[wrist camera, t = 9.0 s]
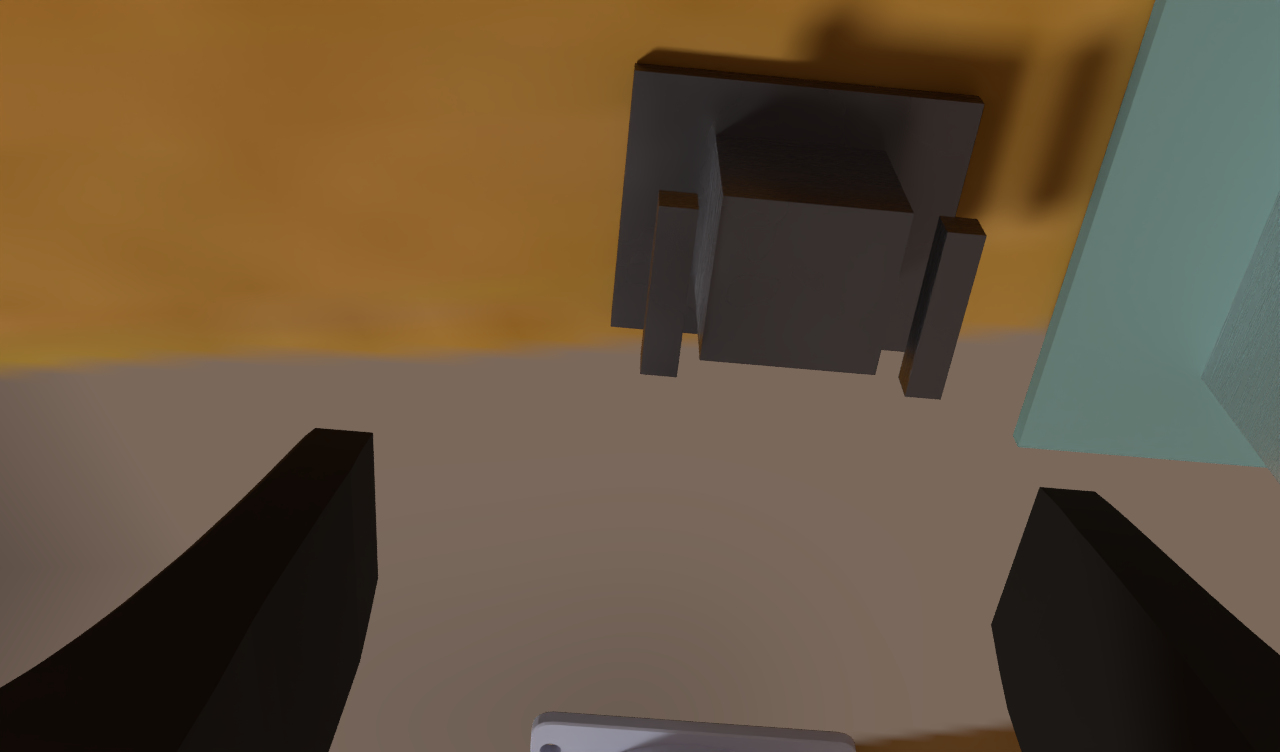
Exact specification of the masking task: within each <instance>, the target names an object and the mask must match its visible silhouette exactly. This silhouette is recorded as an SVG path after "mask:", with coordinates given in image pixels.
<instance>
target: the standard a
mask: <svg viewBox="0 0 1280 752" xmlns="http://www.w3.org/2000/svg"><path fill="white" fill-rule="evenodd" d="M983 108H984V103H983V101H982V100H981V98H980V97H979V96H970V95H960V94H950V93H939V92H929V91H919V90H908V89H898V88H887V87H877V86H867V85H856V84H846V83H836V82H825V81H815V80H804V79H794V78H784V77H773V76H763V75H753V74H742V73H732V72H721V71H711V70H701V69H690V68H680V67H670V66H659V65H649V64H638V63H635V69H634V80H633V90H632V101H631V112H630V122H629V133H628V144H627V154H626V165H625V176H624V186H623V197H622V208H621V218H620V229H619V240H618V251H617V261H616V272H615V283H614V293H613V304H612V315H611V327H623V328H635V329H643V337H642V346H641V359H640V360H641V361H640V374H645V375H658V376H669V377H677V370H678V363H679V356H680V348H681V341H682V333H692V334H698V344H699V359H700V360H705V361H717V362H729V363H741V364H752V365H765V366H775V367H788V368H799V369H810V370H822V371H834V372H846V373H857V374H870V375H875V373H876V369H877V365H878V361H879V357H880V353H881V350H889V351H901V352H905V353H904V357H903V361H902V365H901V369H900V373H899V380H900V383H901V386H902V389H903V392H904V395H905V396H906V397H917V398H929V399H941V396H942V392H943V389H944V385H945V382H946V378H947V375H948V371H949V368H950V364H951V361H952V357H953V353H954V350H955V346H956V343H957V339H958V336H959V332H960V329H961V325H962V321H963V318H964V314H965V311H966V307H967V304H968V300H969V296H970V293H971V289H972V286H973V282H974V279H975V275H976V272H977V268H978V264H979V261H980V257H981V254H982V250H983V247H984V243H985V240H986V234H985V232H984V230H983V229H982V227H981V225H980V223H979V221H978V220H977V219H970V218H960V217H955V215H956V211H957V207H958V203H959V200H960V196H961V192H962V188H963V184H964V181H965V177H966V173H967V169H968V165H969V161H970V158H971V154H972V150H973V146H974V142H975V139H976V135H977V131H978V127H979V123H980V120H981V116H982V112H983Z"/></svg>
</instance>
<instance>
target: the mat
mask: <svg viewBox="0 0 1280 752" xmlns="http://www.w3.org/2000/svg"><path fill="white" fill-rule="evenodd" d="M1279 191H1280V0H1156V1H1155V4H1154V7H1153V10H1152V13H1151V16H1150V19H1149V22H1148V25H1147V28H1146V31H1145V34H1144V37H1143V40H1142V43H1141V46H1140V49H1139V52H1138V55H1137V59H1136V62H1135V65H1134V68H1133V71H1132V74H1131V77H1130V80H1129V83H1128V86H1127V89H1126V92H1125V95H1124V98H1123V101H1122V104H1121V107H1120V110H1119V113H1118V117H1117V120H1116V123H1115V126H1114V129H1113V132H1112V135H1111V138H1110V141H1109V144H1108V147H1107V150H1106V153H1105V156H1104V159H1103V162H1102V165H1101V168H1100V171H1099V174H1098V178H1097V181H1096V184H1095V187H1094V190H1093V193H1092V196H1091V199H1090V202H1089V205H1088V208H1087V211H1086V214H1085V217H1084V220H1083V223H1082V226H1081V229H1080V232H1079V236H1078V239H1077V242H1076V245H1075V248H1074V251H1073V254H1072V257H1071V260H1070V263H1069V266H1068V269H1067V272H1066V275H1065V278H1064V281H1063V284H1062V287H1061V290H1060V294H1059V297H1058V300H1057V303H1056V306H1055V309H1054V312H1053V315H1052V318H1051V321H1050V324H1049V327H1048V330H1047V333H1046V336H1045V339H1044V342H1043V345H1042V348H1041V352H1040V355H1039V358H1038V361H1037V364H1036V367H1035V370H1034V373H1033V376H1032V379H1031V382H1030V385H1029V388H1028V391H1027V394H1026V397H1025V400H1024V403H1023V406H1022V409H1021V413H1020V416H1019V419H1018V422H1017V425H1016V428H1015V431H1014V434H1013V437H1014V439H1015V441H1016V443H1017V446H1018V447H1025V448H1037V449H1049V450H1061V451H1073V452H1086V453H1098V454H1109V455H1121V456H1133V457H1146V458H1157V459H1169V460H1181V461H1194V462H1206V463H1218V464H1230V465H1242V466H1254V467H1266V468H1267V466H1266V465H1265V464H1264V462H1263V461H1262V460H1261V458H1260V457H1259V456H1258V454H1257V453H1256V451H1255V450H1254V449H1253V447H1252V446H1251V445H1250V443H1249V442H1248V441H1247V439H1246V438H1245V437H1244V435H1243V434H1242V433H1241V431H1240V430H1239V429H1238V427H1237V426H1236V425H1235V423H1234V422H1233V421H1232V419H1231V418H1230V416H1229V415H1228V414H1227V412H1226V411H1225V410H1224V408H1223V407H1222V406H1221V404H1220V403H1219V402H1218V400H1217V399H1216V398H1215V396H1214V395H1213V394H1212V392H1211V391H1210V390H1209V388H1208V387H1207V386H1206V384H1205V383H1204V382H1203V380H1202V379H1201V376H1202V374H1203V371H1204V369H1205V367H1206V364H1207V362H1208V360H1209V357H1210V355H1211V352H1212V350H1213V348H1214V345H1215V343H1216V341H1217V338H1218V336H1219V333H1220V331H1221V329H1222V326H1223V324H1224V321H1225V319H1226V317H1227V314H1228V312H1229V310H1230V307H1231V305H1232V302H1233V300H1234V298H1235V295H1236V293H1237V291H1238V288H1239V286H1240V283H1241V281H1242V279H1243V276H1244V274H1245V272H1246V269H1247V267H1248V264H1249V262H1250V260H1251V257H1252V255H1253V252H1254V250H1255V248H1256V245H1257V243H1258V241H1259V238H1260V236H1261V233H1262V231H1263V229H1264V226H1265V224H1266V222H1267V219H1268V217H1269V214H1270V212H1271V210H1272V207H1273V205H1274V203H1275V200H1276V198H1277V195H1278V193H1279Z"/></svg>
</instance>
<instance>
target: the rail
mask: <svg viewBox="0 0 1280 752" xmlns="http://www.w3.org/2000/svg"><path fill="white" fill-rule="evenodd" d="M1201 379H1202V380H1203V382H1204V383H1205V384H1206V386H1207V387H1208V388H1209V390H1210V391H1211V392H1212V394H1213V395H1214V396H1215V398H1216V399H1217V400H1218V402H1219V403H1220V404H1221V406H1222V407H1223V408H1224V410H1225V411H1226V412H1227V414H1228V415H1229V416H1230V418H1231V419H1232V421H1233V422H1234V423H1235V425H1236V426H1237V427H1238V429H1239V430H1240V431H1241V433H1242V434H1243V435H1244V437H1245V438H1246V439H1247V441H1248V442H1249V443H1250V445H1251V446H1252V447H1253V449H1254V450H1255V451H1256V453H1257V454H1258V456H1259V457H1260V458H1261V460H1262V461H1263V462H1264V464H1265V465H1266V466H1267V468H1268V469H1269V470H1270V472H1271V473H1272V474H1273V476H1274V477H1275V478H1276V480H1277V481H1278V482H1279V484H1280V191H1279V193H1278V195H1277V198H1276V200H1275V203H1274V205H1273V207H1272V210H1271V212H1270V214H1269V217H1268V219H1267V222H1266V224H1265V226H1264V229H1263V231H1262V233H1261V236H1260V238H1259V241H1258V243H1257V245H1256V248H1255V250H1254V252H1253V255H1252V257H1251V260H1250V262H1249V264H1248V267H1247V269H1246V272H1245V274H1244V276H1243V279H1242V281H1241V283H1240V286H1239V288H1238V291H1237V293H1236V295H1235V298H1234V300H1233V302H1232V305H1231V307H1230V310H1229V312H1228V314H1227V317H1226V319H1225V321H1224V324H1223V326H1222V329H1221V331H1220V333H1219V336H1218V338H1217V341H1216V343H1215V345H1214V348H1213V350H1212V352H1211V355H1210V357H1209V360H1208V362H1207V364H1206V367H1205V369H1204V371H1203V374H1202V376H1201Z"/></svg>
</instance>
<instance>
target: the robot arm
mask: <svg viewBox="0 0 1280 752" xmlns="http://www.w3.org/2000/svg"><path fill="white" fill-rule="evenodd" d="M374 480H375V479H374V451H373V433H370V432H358V431H346V430H333V429H321V428H315V429H313V430H312V431H311V432H310V433H308V434H307V435H306V436H305V437H304V438H303V439H302V440H301V441H300V442H299V443H298V444H297V445H296V446H295V447H294V448H293V449H292V450H291V451H290V452H289V453H288V454H287V455H286V456H285V457H284V458H283V459H282V460H281V461H280V462H279V463H278V464H277V465H276V466H275V467H274V468H273V469H272V470H271V471H270V472H269V473H268V474H267V475H266V476H265V477H264V478H263V479H262V480H261V481H260V482H259V483H258V484H257V485H256V486H255V487H254V488H253V489H252V490H251V491H250V492H249V493H248V494H247V495H246V496H245V497H244V498H243V499H242V500H241V501H239V502H238V503H237V504H236V505H235V506H234V507H233V508H232V509H231V510H230V511H229V512H228V513H227V514H226V515H225V516H224V517H222V518H221V519H220V520H219V521H218V522H217V523H216V524H215V525H214V526H213V527H212V528H210V529H209V530H208V531H207V532H206V533H205V534H204V535H203V536H202V537H201V538H200V539H199V540H197V541H196V542H195V543H194V544H193V545H192V546H191V547H190V548H189V549H187V550H186V551H185V552H184V553H183V554H182V555H181V556H179V557H178V558H177V559H176V560H175V561H174V562H172V563H171V564H170V565H169V566H167V567H166V568H165V569H164V570H163V571H161V572H160V573H159V574H158V575H157V576H155V577H154V578H153V579H152V580H151V581H149V583H147V584H146V585H145V586H143V587H142V588H141V589H140V590H139V591H138V592H136V593H135V594H134V595H133V596H131V597H130V598H129V599H128V600H126V601H125V602H124V603H123V604H121V605H120V606H119V607H118V608H116V609H115V610H114V611H112V612H111V613H110V614H108V615H107V616H106V617H105V618H103V619H102V620H100V621H99V622H98V623H97V624H95V625H94V626H92V627H91V628H90V629H88V630H87V631H86V632H84V633H83V634H81V636H79V637H77V638H76V639H74V640H73V641H72V642H70V643H69V644H67V645H66V646H64V647H63V648H62V649H60V650H59V651H57V652H56V653H54V654H53V655H51V656H50V657H49V658H47V659H46V660H44V661H43V662H41V663H40V664H38V665H37V666H35V667H34V668H32V669H31V670H29V671H27V672H26V673H24V674H22V675H21V676H19V677H17V678H16V679H14V680H12V681H11V682H9V683H8V684H6V685H4V686H2V687H1V688H0V752H328V751H329V749H330V746H331V743H332V740H333V738H334V735H335V732H336V729H337V726H338V723H339V720H340V717H341V715H342V712H343V709H344V706H345V703H346V700H347V698H348V695H349V692H350V689H351V686H352V683H353V680H354V677H355V674H356V671H357V668H358V665H359V663H360V659H361V654H362V649H363V645H364V641H365V636H366V632H367V627H368V623H369V618H370V613H371V609H372V604H373V599H374V595H375V589H376V585H377V580H378V564H377V537H376V509H375V481H374ZM991 626H992V632H993V637H994V642H995V648H996V654H997V659H998V665H999V671H1000V675H1001V680H1002V685H1003V689H1004V694H1005V699H1006V704H1007V708H1008V711H1009V715H1010V718H1011V721H1012V724H1013V727H1014V730H1015V733H1016V736H1017V739H1018V742H1019V745H1020V748H1021V751H1022V752H1280V655H1279V654H1278V653H1277V652H1275V651H1274V650H1273V649H1272V648H1271V647H1270V646H1268V645H1267V644H1266V643H1265V642H1264V641H1263V640H1261V639H1260V638H1259V637H1258V636H1257V635H1256V634H1254V633H1253V632H1252V631H1251V630H1250V629H1249V628H1247V627H1246V626H1245V625H1244V624H1243V623H1242V622H1240V621H1239V620H1238V619H1237V618H1236V617H1235V616H1234V615H1232V614H1231V613H1230V612H1229V611H1228V610H1227V609H1226V608H1225V607H1223V606H1222V605H1221V604H1220V603H1219V602H1218V601H1217V600H1216V599H1214V598H1213V597H1212V596H1211V595H1210V594H1209V593H1208V592H1207V591H1206V590H1205V589H1203V588H1202V587H1201V586H1200V585H1199V584H1198V583H1197V582H1196V581H1195V580H1193V579H1192V578H1191V577H1190V576H1189V575H1188V574H1187V573H1186V572H1185V571H1184V570H1183V569H1181V568H1180V567H1179V566H1178V565H1177V564H1176V563H1175V562H1174V561H1173V560H1172V559H1170V558H1169V557H1168V556H1167V555H1166V554H1165V553H1164V552H1163V551H1162V550H1161V549H1160V548H1159V547H1157V546H1156V545H1155V544H1154V543H1153V542H1152V541H1151V540H1150V539H1149V538H1148V537H1147V536H1145V535H1144V534H1143V533H1142V532H1141V531H1140V530H1139V529H1138V528H1137V527H1136V526H1134V525H1133V524H1132V523H1131V522H1130V521H1129V520H1128V519H1127V518H1126V517H1124V516H1123V515H1122V514H1121V513H1120V512H1119V511H1118V510H1116V509H1115V508H1114V507H1113V506H1112V505H1111V504H1109V503H1108V502H1107V501H1106V500H1105V499H1103V498H1102V497H1101V496H1100V495H1098V494H1097V493H1096V492H1093V491H1080V490H1067V489H1056V488H1044V487H1040V488H1039V491H1038V494H1037V496H1036V499H1035V502H1034V505H1033V508H1032V510H1031V513H1030V516H1029V519H1028V522H1027V525H1026V527H1025V531H1024V533H1023V536H1022V539H1021V542H1020V544H1019V547H1018V550H1017V553H1016V556H1015V559H1014V561H1013V564H1012V567H1011V570H1010V573H1009V576H1008V579H1007V581H1006V584H1005V587H1004V590H1003V593H1002V595H1001V598H1000V601H999V604H998V607H997V610H996V612H995V615H994V618H993V621H992V624H991ZM549 744H555V745H549ZM530 747H531V748H530V752H856V748H855V743H854V741H853V739H852V738H851V737H850V736H848V735H847V734H844V733H840V732H830V731H815V730H802V729H789V728H775V727H761V726H747V725H733V724H719V723H705V722H691V721H676V720H663V719H649V718H635V717H621V716H606V715H593V714H580V713H566V712H546V713H543V714H540V715H538V716H537V717H536V718H535V719H534V721H533V724H532V732H531V746H530Z"/></svg>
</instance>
